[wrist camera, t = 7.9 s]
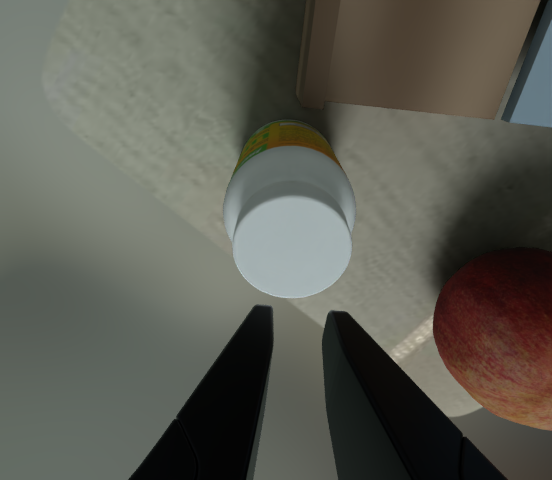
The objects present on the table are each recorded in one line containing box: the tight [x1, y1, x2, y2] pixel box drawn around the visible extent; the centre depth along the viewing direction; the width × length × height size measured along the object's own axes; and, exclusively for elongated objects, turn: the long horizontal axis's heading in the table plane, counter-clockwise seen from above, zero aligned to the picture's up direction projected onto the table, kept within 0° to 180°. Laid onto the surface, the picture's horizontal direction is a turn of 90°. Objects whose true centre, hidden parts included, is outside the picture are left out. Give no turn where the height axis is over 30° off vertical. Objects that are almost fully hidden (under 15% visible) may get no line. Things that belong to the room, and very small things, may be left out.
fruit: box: [433, 247, 552, 431], centre depth 19 cm, size 11×10×10 cm
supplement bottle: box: [223, 120, 356, 298], centre depth 15 cm, size 5×5×10 cm
